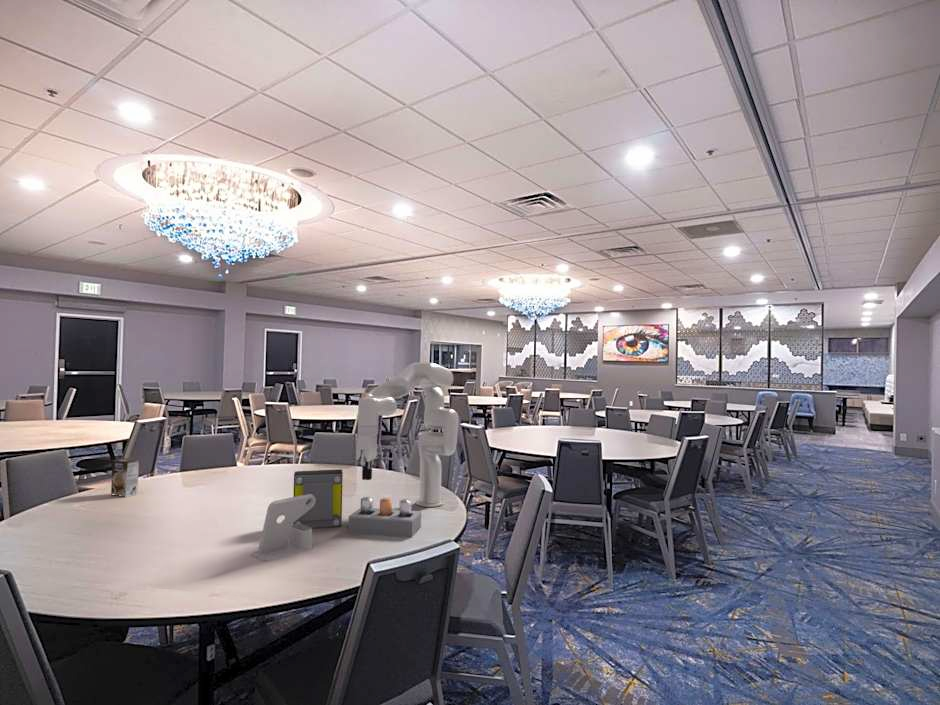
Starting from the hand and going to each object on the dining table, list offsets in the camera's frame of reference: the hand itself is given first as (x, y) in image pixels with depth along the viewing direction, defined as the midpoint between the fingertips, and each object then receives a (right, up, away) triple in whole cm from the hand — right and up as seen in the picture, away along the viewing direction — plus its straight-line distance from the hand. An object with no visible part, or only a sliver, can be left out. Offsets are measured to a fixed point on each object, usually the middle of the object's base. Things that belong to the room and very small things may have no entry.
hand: (366, 479), depth 196 cm
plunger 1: (0, -12, 0) cm, 12 cm away
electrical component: (-19, -18, +3) cm, 27 cm away
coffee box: (-120, -18, +44) cm, 129 cm away
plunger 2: (+15, -13, -3) cm, 19 cm away
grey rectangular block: (+7, -18, -2) cm, 20 cm away
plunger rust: (+7, -12, -2) cm, 14 cm away
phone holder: (-22, -18, -25) cm, 38 cm away
